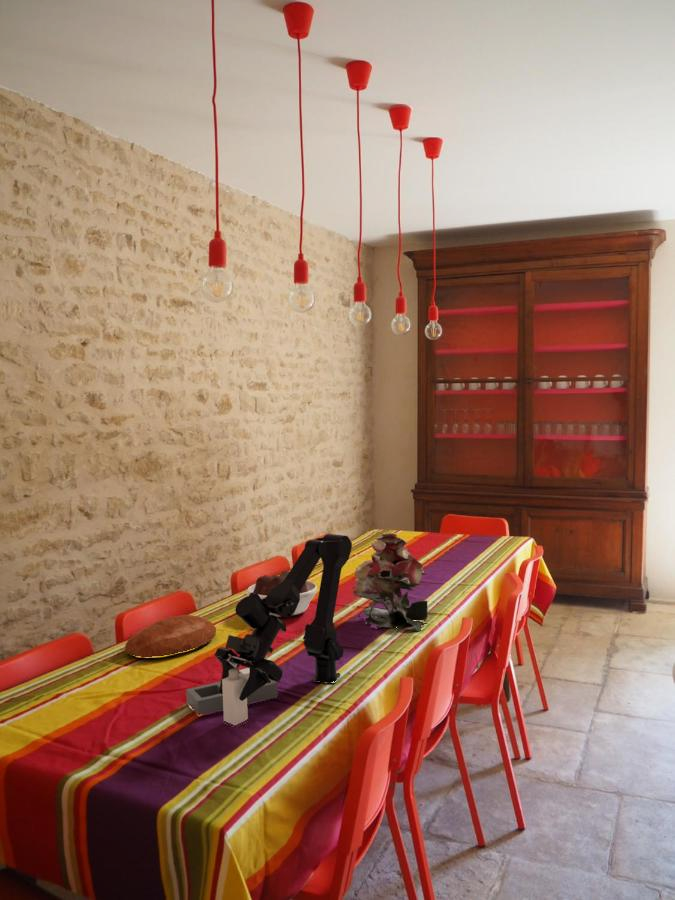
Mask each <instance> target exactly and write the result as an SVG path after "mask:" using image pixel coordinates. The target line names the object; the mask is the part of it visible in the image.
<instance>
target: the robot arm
mask: <svg viewBox="0 0 675 900" xmlns="http://www.w3.org/2000/svg"><path fill="white" fill-rule="evenodd" d="M352 548H353V543H352V541H351V538H350V537H349V535H348V536H347V535H342V534H335V533H326V534H325V535H324V536H322V537H316V538H314V539H309V540H307V541H306V542H305V544H304V549H303V550H302V552H301V553H300V555H299V556H298V557H297V559H296V561H295V562H294V564H293V565H292V567H291V569H290V570H289V573H288V575H287V577H286V578H285V579H284V581H283V582H281V583H280V584H278V585H276V586H275V587H274V588H273V589H272V590H271V591H270V592H269V594H268V595H267V597H265V598H263V599H261V598H260V596H259V595H258V594H257V593H252V592H251V593H250V595H249V596H248V595H247V596H245V597H244V598H242V599H241V600H240V601H238V602H237V604H236V606H235V614H236V615H237V616H238V617H239V619H241V621H243V622H244V623H245V625H247V626H248V627H249V628H251V629H252V632H251V634H249V633H246V634H245V635H244V637H238V636H235V635H231V634H229V635H228V637H227V639H226V644H225V647H224V646H221V647H220V646H219V647H218V648H216V649H217V650H216V651H215V653H214V654H213V656H214V657H215V658H216V659H217V660H218V661H219V663H221V667H222V673H221V674H222V675H221V678H220V682H221V684H220V689H219V693H221V694H223V689H222V679H224V678H227V677H229V670H230V669H234V668H236V669H239V667H240V666H241V667H244V668H250V672H249V678H248V680H247V682H246V684H245V686H244V688H243V690H242V692H241V695H240V697H239V699H240V700H241V701H243V700H244V699H246V698H247V697H248V696H250V695H251V694H252V693H253V692H255V691H256V690H258V689H259V688H261V687H262V686H264V685H265V684H267V683H270V682H271V681H270V679H271V680H273V681H276V682H277V683H280V681H281V680H282V677H283V669H282V668H281V667H280V666H279V665H277V663H275V662H274V661H273V660H271V659H268V658H266V656H267V654H268V653H270V654H272V653H273V650H274V649H273V647H272V645H273V643H274V641H275V640H276V638H277V635H278V633H279V632H280V631H281V632H284V633H285V632H287V627H286V621H285V619H281V618H280V619H279V618H278V617H276V616H274V615H278V616H283V618H289V617H292V616H294V615H293V614H294V612H295V610H296V608H297V606H298V603H299V601H300V591H301V589H302V587H303V585H304V584H305V582H306V581H308V579H309V577H310V575H311V574H312V573H313V571H314V569H315V568H316V566H317V564H318V562H319V561H320V560H321V562H322V565H323V566H322V573H321V578H320V579H321V580H320V585H319V590H318V597H317V603H316V610H315V615H314V619H313V620H312V621H311V623H310V624H309V623H306V625H305V626H304V633H303V638H302V640H303V646H304V647H305V649H306V652H307V656H308V657H312V658H313V657H314V667H315V668H314V669H315V670H314V671H315V672H314V673H315V675H314V676H313V677H312V679H311V682H312V681H320V682H333V681H334V682H335V681H336V680H338V679H339V678H338V677H340V676H341V673H340V672H337V661H340V660H341V658H343V657H344V651H345V649H344V648H343V647H342V646H341V645H340V643H338V642H337V635H338V632H337V630H336V627H335V624H334V616H335V610H336V604H337V600H338V599H337V598H338V591H339V587H340V580H341V574H342V568H343V567H344V566H345V565H346V564H347V562H348V561H349V560H350V559H349V558H350V556H351V552H352ZM269 613H270V614H274V615H270V614H269ZM239 673H240V672H239ZM339 675H340V676H339ZM337 678H338V679H337ZM336 682H337V681H336Z"/></svg>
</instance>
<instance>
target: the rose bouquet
mask: <svg viewBox="0 0 675 900" xmlns="http://www.w3.org/2000/svg"><path fill="white" fill-rule="evenodd" d="M375 540H376V541H373V542H371V547H372V549H373V550H374V551H375V552H373V553H372V554H371V555H370V556H371V559H368V560H364V561H363V562H361V564H359V565H358V566H357V567H355V570H354V577H356V578H355V583H356V584H355V585H354V586H353V587H352V589H353V591H352V593H353V596H354V597H355V596H356V597H358V598H362V599H365V600H366V599H367V600H370V602H368V606H370V607H367V608H365V609H364V610H363V612H364V615H367V616H369V617H368V618H366V619H365V621H366V622H367V623H372V624H376V625H379V626H376V627H377V629H376V630H378V629H380V628H389V629H397V628H399V629H400V626H397V625H396V620H397V619H398V618H401V619H402V618H403V620H405V621H406V623H407V624H410V625H411V626H409V627H406V628H404V629H405V630H412V631H416V632H419V631H420V630H421V628H422V627H423V626H422V627H421V625H424V624H428V622H427V623H423V622H420V621H413V620H425V621H426V620H427V618H428V613H429V612H428V610H429V609H428V601H427V600H425V599H423V600H418V601H415V602H411V604H410V599H409V598H408V593H409V592H417V593H418V591H417V590H414V589H413V588H416V587H417V586H420V585H424V583H420V581H421V580H422V578H423V576H424V575H427V573H426V572H425V571H424V566H423V564H422V563H421V562H420V561H418V560H417V558H415V556H413V554H411V553H410V552H409V551H410V549H408V548H406V545H407V544H408V541H407V540H405V539H403V538H400V537H398V534H396V533H391V532H388V533H384V534H383V533H382V534H381V533H380V534H378V536H377V537H375ZM402 590H406V592H405V594H404V595H402ZM376 604H382V605H383V606H384V607H385V608H386V609H385V608H379V607H378V608H377V607H375V606H376ZM374 616H377V617H378V618H375V617H374ZM379 617H380V618H379ZM396 627H397V628H396Z"/></svg>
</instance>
